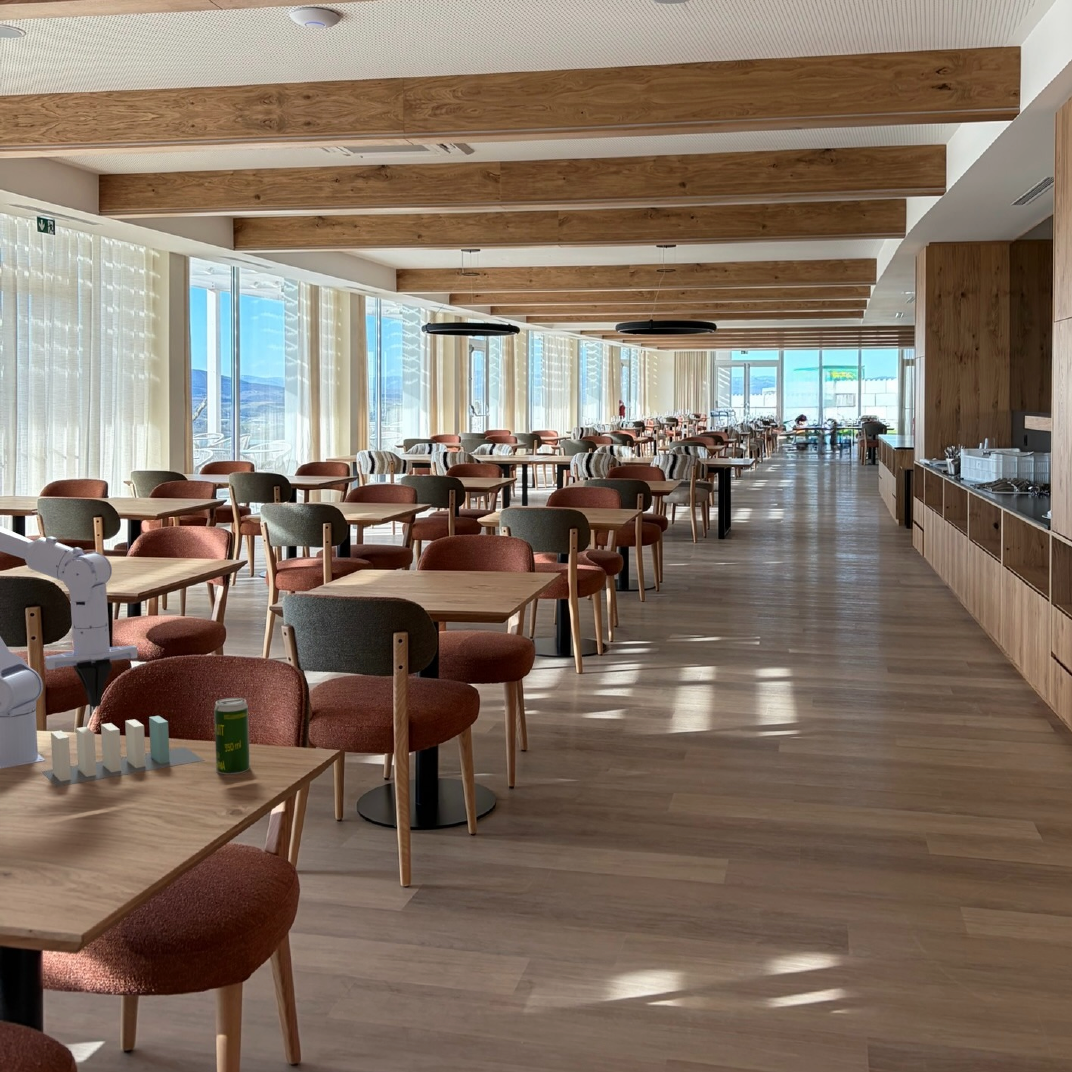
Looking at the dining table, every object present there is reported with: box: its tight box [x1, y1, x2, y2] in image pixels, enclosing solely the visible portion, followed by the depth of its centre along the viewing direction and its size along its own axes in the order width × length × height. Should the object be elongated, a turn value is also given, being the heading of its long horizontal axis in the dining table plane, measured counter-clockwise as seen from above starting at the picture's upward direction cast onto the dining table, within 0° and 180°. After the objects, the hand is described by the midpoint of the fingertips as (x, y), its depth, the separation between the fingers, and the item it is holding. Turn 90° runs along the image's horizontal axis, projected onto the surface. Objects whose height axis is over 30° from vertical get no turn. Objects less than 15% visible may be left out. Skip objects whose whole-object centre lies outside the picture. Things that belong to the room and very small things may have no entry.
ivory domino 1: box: [50, 730, 71, 781], centre depth 191 cm, size 2×5×7 cm, turn 35°
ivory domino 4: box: [124, 718, 146, 768], centre depth 198 cm, size 2×5×7 cm, turn 35°
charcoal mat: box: [41, 746, 205, 788], centre depth 197 cm, size 10×24×1 cm, turn 126°
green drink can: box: [213, 697, 251, 775], centre depth 194 cm, size 5×5×12 cm
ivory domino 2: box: [76, 726, 97, 777], centre depth 193 cm, size 2×5×7 cm, turn 35°
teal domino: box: [148, 715, 170, 764], centre depth 200 cm, size 2×5×7 cm, turn 36°
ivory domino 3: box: [100, 722, 122, 772], centre depth 196 cm, size 2×5×7 cm, turn 35°
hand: (94, 705), depth 198 cm, fingers closed
